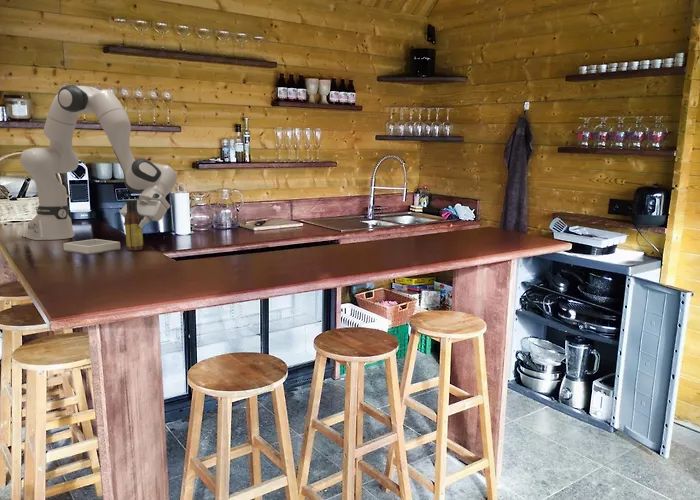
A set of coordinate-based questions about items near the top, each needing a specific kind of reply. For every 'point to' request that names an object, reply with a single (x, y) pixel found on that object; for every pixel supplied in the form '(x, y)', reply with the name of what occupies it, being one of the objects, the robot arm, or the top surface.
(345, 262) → the top surface
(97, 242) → the tray
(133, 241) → the sauce bottle
